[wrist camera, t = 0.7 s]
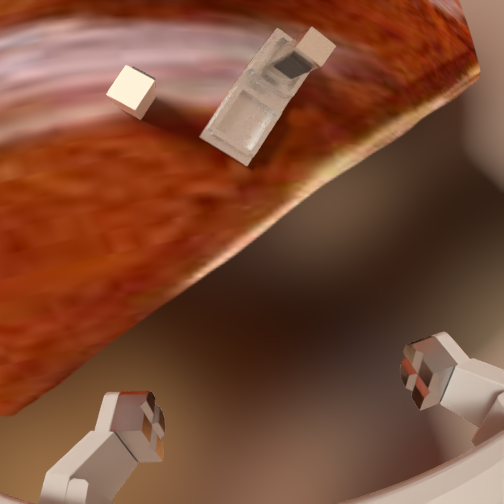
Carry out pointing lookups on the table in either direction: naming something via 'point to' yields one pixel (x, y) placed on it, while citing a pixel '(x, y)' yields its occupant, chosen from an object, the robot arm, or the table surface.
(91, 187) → the table surface
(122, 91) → the loose rectangular block
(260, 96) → the pillar on stepped tray
